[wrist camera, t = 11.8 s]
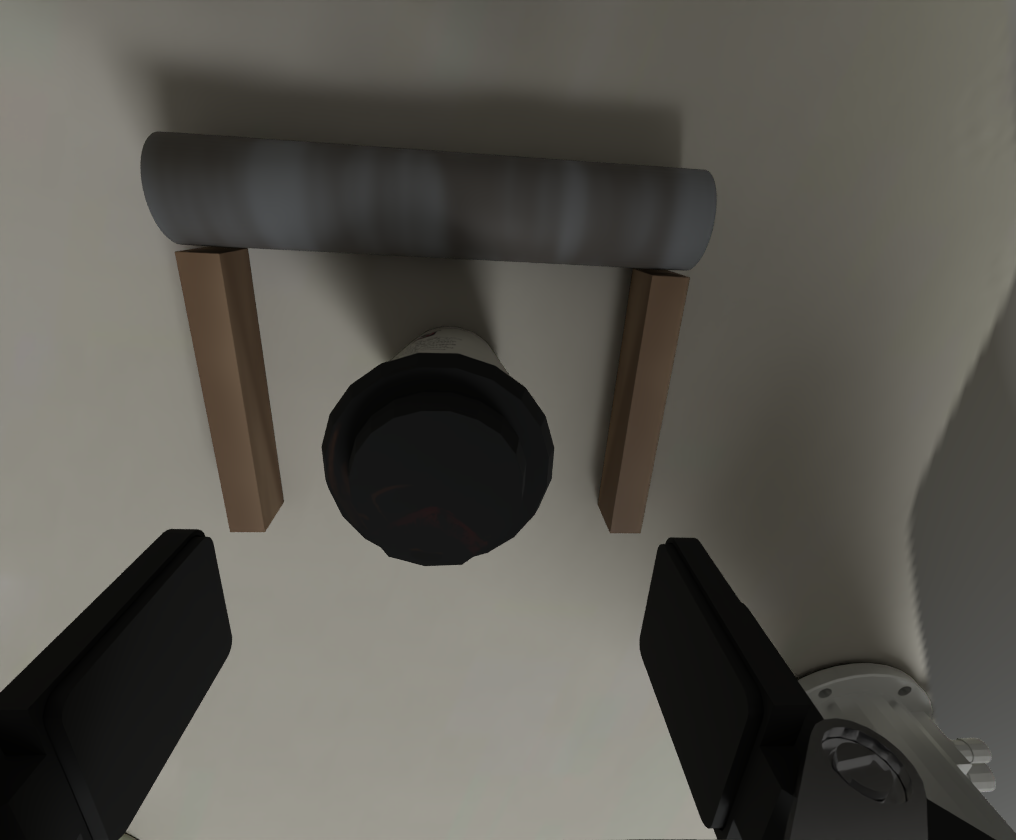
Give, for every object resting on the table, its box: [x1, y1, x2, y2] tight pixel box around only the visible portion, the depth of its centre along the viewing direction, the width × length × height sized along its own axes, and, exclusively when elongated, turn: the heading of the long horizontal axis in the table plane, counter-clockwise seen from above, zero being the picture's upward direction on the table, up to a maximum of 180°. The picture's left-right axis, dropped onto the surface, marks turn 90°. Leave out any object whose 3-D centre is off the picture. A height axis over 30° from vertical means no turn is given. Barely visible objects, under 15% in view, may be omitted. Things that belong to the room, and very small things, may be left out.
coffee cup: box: [322, 327, 554, 566], centre depth 18 cm, size 7×7×10 cm
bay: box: [141, 132, 716, 533], centre depth 21 cm, size 19×16×4 cm
